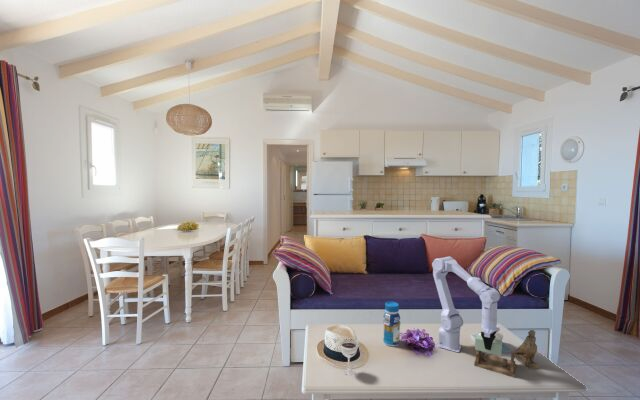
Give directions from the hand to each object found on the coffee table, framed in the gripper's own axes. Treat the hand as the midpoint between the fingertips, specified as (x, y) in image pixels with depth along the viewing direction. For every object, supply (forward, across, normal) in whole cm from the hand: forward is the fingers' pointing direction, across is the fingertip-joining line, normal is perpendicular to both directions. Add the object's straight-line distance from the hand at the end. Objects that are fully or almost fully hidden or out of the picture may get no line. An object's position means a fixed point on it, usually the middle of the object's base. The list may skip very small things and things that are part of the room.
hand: (488, 346), depth 134 cm
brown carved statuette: (+9, +14, -13) cm, 21 cm away
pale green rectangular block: (+2, 0, 0) cm, 2 cm away
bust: (+9, +22, +1) cm, 24 cm away
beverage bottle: (+9, -6, +42) cm, 44 cm away
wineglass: (+9, -40, +48) cm, 63 cm away
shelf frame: (+8, +3, -2) cm, 9 cm away
